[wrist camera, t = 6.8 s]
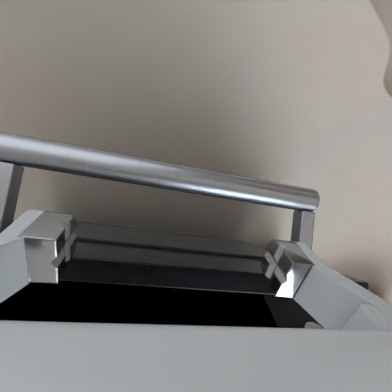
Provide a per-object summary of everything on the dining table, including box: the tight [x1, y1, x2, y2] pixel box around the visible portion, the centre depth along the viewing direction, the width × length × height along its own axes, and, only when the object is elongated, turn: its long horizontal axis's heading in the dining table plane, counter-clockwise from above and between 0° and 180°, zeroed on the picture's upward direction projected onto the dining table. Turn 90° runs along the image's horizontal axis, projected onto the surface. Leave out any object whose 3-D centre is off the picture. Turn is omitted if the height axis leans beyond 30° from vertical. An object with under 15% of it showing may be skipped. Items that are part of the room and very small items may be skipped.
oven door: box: [0, 132, 368, 295], centre depth 22 cm, size 7×27×20 cm, turn 78°
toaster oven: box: [0, 280, 324, 329], centre depth 30 cm, size 29×36×22 cm
